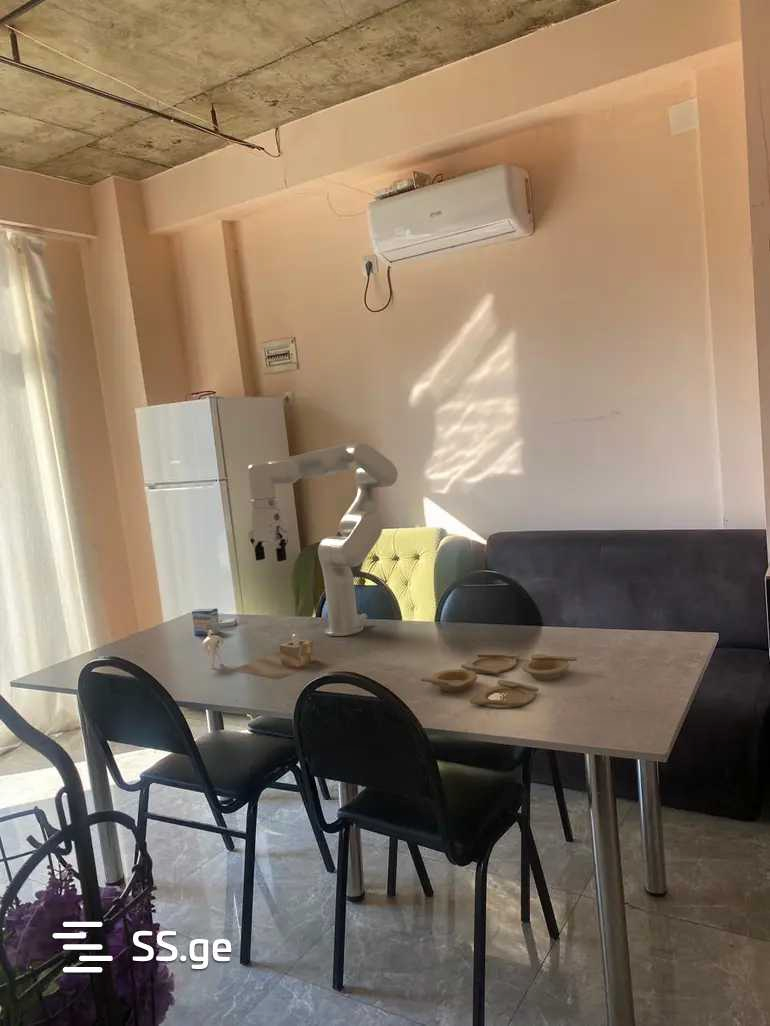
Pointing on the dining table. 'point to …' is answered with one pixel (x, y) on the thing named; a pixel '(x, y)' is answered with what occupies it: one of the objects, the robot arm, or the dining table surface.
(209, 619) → the medicine box
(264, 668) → the wooden peg base
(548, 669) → the tableware set
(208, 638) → the figurine
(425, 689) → the dining table surface
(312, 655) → the wooden cube
